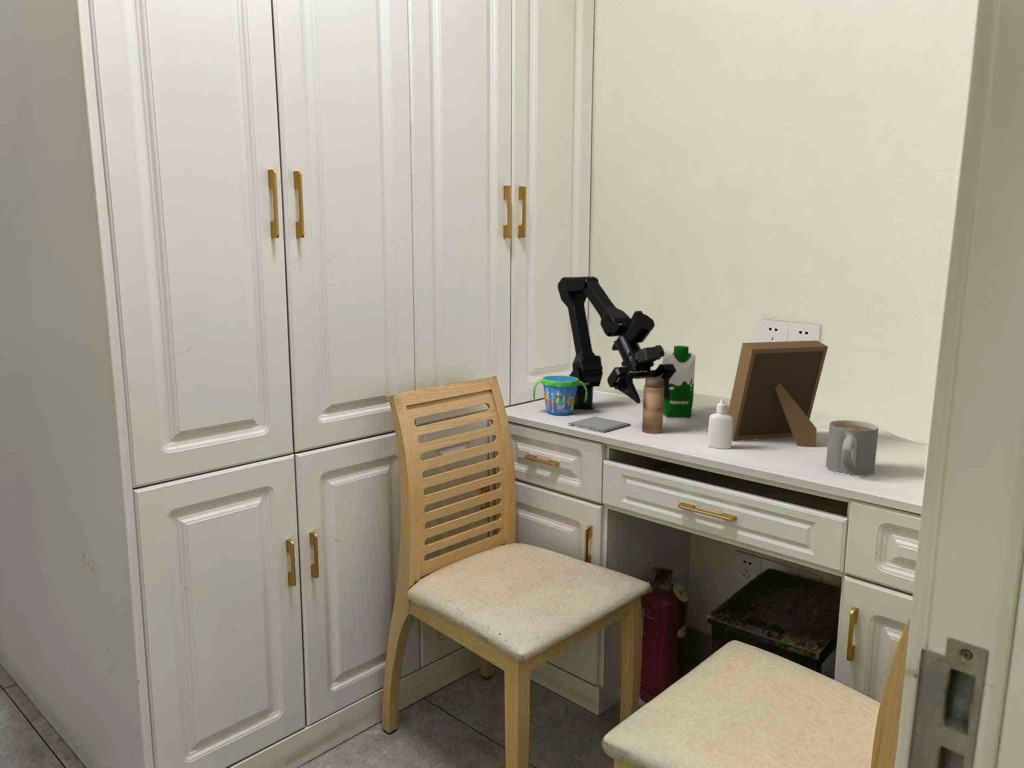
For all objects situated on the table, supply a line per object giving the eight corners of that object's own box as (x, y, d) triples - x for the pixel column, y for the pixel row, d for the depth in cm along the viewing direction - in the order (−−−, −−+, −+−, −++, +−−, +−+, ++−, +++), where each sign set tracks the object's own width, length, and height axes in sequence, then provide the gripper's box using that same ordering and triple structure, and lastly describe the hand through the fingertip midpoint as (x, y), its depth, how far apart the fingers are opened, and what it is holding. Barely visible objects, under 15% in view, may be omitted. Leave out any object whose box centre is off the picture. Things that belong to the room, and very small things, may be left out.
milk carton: (664, 418, 227) (667, 347, 224) (657, 411, 236) (660, 343, 232) (695, 418, 227) (699, 347, 224) (687, 411, 236) (690, 343, 233)
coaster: (567, 425, 217) (567, 422, 217) (594, 418, 226) (594, 416, 226) (603, 432, 209) (603, 430, 209) (630, 425, 218) (630, 423, 218)
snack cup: (586, 410, 236) (588, 375, 235) (586, 418, 226) (587, 382, 224) (533, 408, 238) (534, 374, 236) (530, 416, 228) (531, 380, 226)
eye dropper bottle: (714, 443, 200) (717, 395, 198) (734, 448, 196) (737, 399, 194) (704, 446, 197) (707, 398, 195) (724, 451, 193) (727, 401, 191)
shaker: (641, 428, 214) (644, 376, 212) (661, 429, 214) (664, 377, 211) (641, 433, 209) (644, 380, 207) (662, 434, 209) (664, 380, 206)
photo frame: (723, 437, 206) (729, 340, 202) (794, 431, 213) (802, 337, 209) (758, 452, 193) (765, 347, 188) (833, 445, 199) (842, 345, 195)
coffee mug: (835, 460, 186) (839, 418, 184) (880, 469, 180) (884, 425, 178) (812, 472, 176) (816, 427, 174) (859, 482, 170) (864, 435, 168)
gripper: (614, 336, 208) (637, 385, 200) (673, 333, 216) (698, 380, 208) (597, 362, 216) (618, 410, 208) (654, 358, 224) (677, 405, 216)
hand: (654, 401), depth 210 cm, fingers open, 9 cm apart
